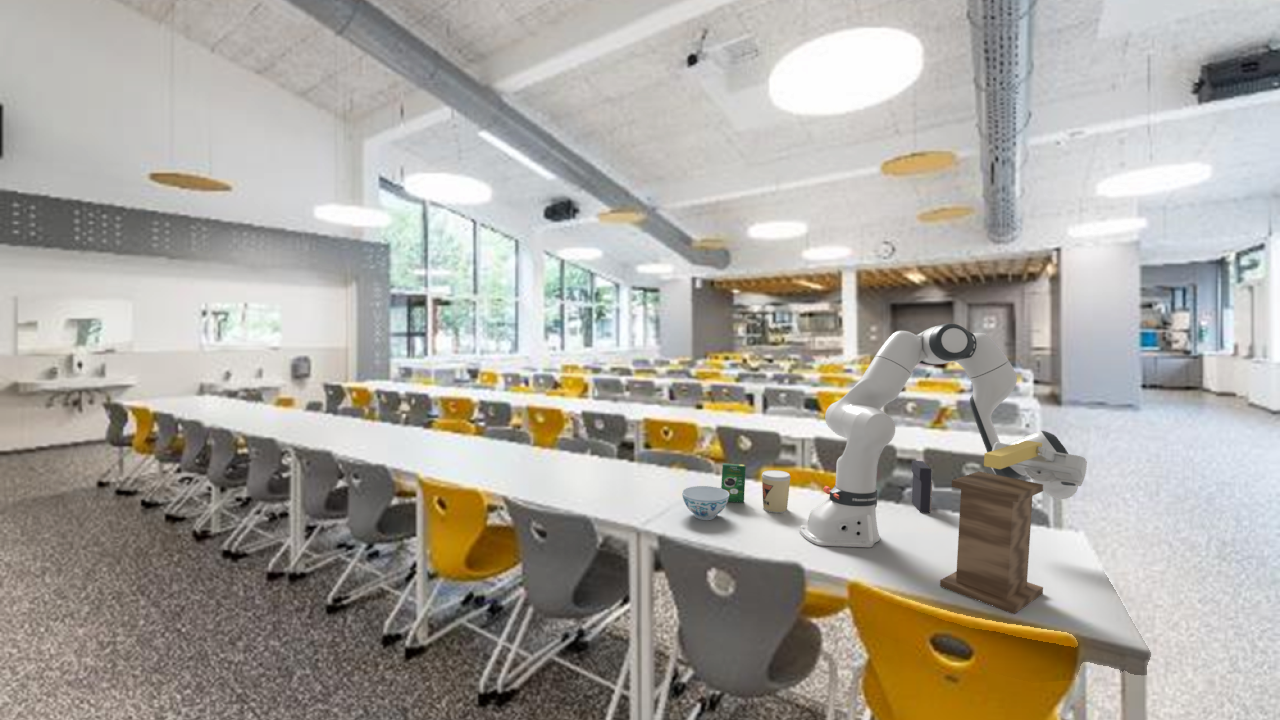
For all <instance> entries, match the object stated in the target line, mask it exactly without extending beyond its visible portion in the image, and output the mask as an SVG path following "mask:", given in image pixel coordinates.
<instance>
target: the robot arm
mask: <svg viewBox="0 0 1280 720" xmlns="http://www.w3.org/2000/svg"><path fill="white" fill-rule="evenodd" d="M951 362H956V363H957V364H959V365H960V366H961V368H962V369H964V372H965V374H966V375H967V377H968V378H969V381H970V383H971V385H972V395H971V396H970V397H969V404H970V405H969V406H970V409H971V413H972V414H973V418H974V420H975V423H976V426H977V429H978V431H979V434H980V437H981V440H982V442H983V445H984V447H985V450H986V453H987V452H991V451H994V450H997V449H1000V448H1004V447H1007V446H1010V445H1013V444H1017V443H1020V442H1023V441H1026V440H1027V441H1033V442H1040V443H1042V447H1038V446H1037V449H1036V453H1037V455H1039V456H1036V457H1034V458H1031V459H1028V460H1025V461H1022V462H1020V463H1017V464H1014V465H1011V466H1008V467H1006V468H1003V469H996V468H991V469H992V471H993V474H995V475H999V476H1004V477H1009V478H1014V479H1019V480H1020V479H1021V478H1023V477H1025V476H1028V477H1029V478H1030V479H1031V480H1032V482H1033V483H1038V484H1043V491H1042V492H1044V493H1045V494H1046V495H1047V496H1049V497H1051V498H1053V499H1058V500H1065V499H1066V500H1067V499H1070V498H1071V497H1073V496H1074V495H1076V493H1077V492H1078V489H1079V487H1081V486H1082V485H1083V482H1084V480H1085V477H1086V474H1087V464H1088V462H1087V460H1086V458H1085V457H1083V456H1081V455H1077V454H1069V452H1068V451H1067V449H1066V447H1065V446H1064V444H1062V442H1061V441H1060V440H1059V438H1058V437H1057V436H1056V434H1053V433H1051V432H1049V431H1045V430H1039V431H1036V432H1034V433H1031V434H1028V435H1026V436H1023V437H1021V438H1019V439H1015V440H1013V441H1011V442H1008V443H1003V442H1001V441H1000V438H999V436H998V434H997V431H996V428H995V426H994V423H993V421H992V415H993V412H994V411H995V410H996V409H997V407H998V406H999V405H1001V404H1002V403H1003V402H1004V401H1005V400H1006V399H1007V398H1008V397H1009V396H1010V395H1011V394H1012V392H1013V391H1014V390H1015V388H1016V386H1017V381H1018V376H1017V373H1016V371H1015V369H1014V367H1013V365H1012V364H1011V361H1010V360H1009V359H1008V357H1007V356H1006V354H1005V353H1004V352H1003V350H1002V349H1001V348H1000V346H999V345H998V344H997V343H996V341H994V340H993V338H992V337H991V336H990V335H988V334H987V333H984V332H974V333H972V332H971V331H969V330H967V329H966V328H965V327H964V326H963V325H962V326H961V325H959V324H957V323H953V322H952V323H951V322H949V323H942V324H939V325H936V326H931V327H929V328H927V329H924V330H923V331H921V332H918V333H917V334H915V333H913V332H911V331H908V330H896V331H894V332H893V333H891V335H890V336H889V337H888V338H887V339H886V340H885V342H884V343H883V344H882V346H881V347H880V348H879V350H878V351H877V352H876V354H875V355H874V358H873V359H872V360H871V362H870V364H869V365H868V367H867V368H866V370H865V372H864V373H863V375H862V377H860V379H859V380H858V381H857V382H856V383H855V385H854V386H853V387H852V388H851V389H850V390H849V391H847V393H846V394H844V396H842V397H841V398H840V399H839V400H837V401H835V402H833V403H831V404H830V405H829V406H828V407H827V409H826V411H825V414H824V415H825V416H824V421H825V423H826V426H827V427H828V428H829V429H830V430H831V431H832V432H834V434H836V435H838V436H840V437H841V438H844V439H846V443H845V444H846V445H845V448H844V451H843V452H842V455H840V456H839V457H838V458H837V460H836V467H835V468H836V469H835V470H836V472H835V473H836V474H835V485H834V487H833V488H831V487H829V486H828V485H825V486H824V487H823V489H822V491H823V492H824V493H825V494H826V495H829V498H828V499H826V500H824V502H822V503H821V504H819V505H817V506H816V507H815V508H813V509H812V510H811V511H810V513H809V515H808V519H807V523H806V524H801V525H800V527H799V533H800V534H801V536H802V537H803V538H805V539H806V540H807V541H808V542H810V543H812V544H813V545H817V546H825V547H828V546H829V547H845V548H847V547H849V548H851V547H853V548H873V547H874V545H875V543H877V542H879V541H880V539H881V537H880V533H879V529H878V522H877V504H878V490H877V476H878V464H879V460H880V457H881V454H882V452H883V450H884V448H885V447H886V446H887V445H889V444H890V443H891V442H892V440H893V439H894V437H895V434H896V424H895V421H894V419H893V418H892V417H891V416H890V415H888V414H887V413H886V412H884V411H883V410H882V408H883V407H884V406H885V405H887V404H888V403H891V402H893V401H894V400H897V398H898V397H899V396H900V393H901V392H902V391H903V389H904V387H905V385H906V384H907V382H908V380H909V378H910V377H911V375H912V373H913V372H914V370H915V368H916V367H917V366H918V365H919V363H920V364H923V365H928V366H934V365H943V364H947V363H948V364H949V363H951Z"/></svg>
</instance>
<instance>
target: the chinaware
mask: <svg viewBox="0 0 1280 720" xmlns="http://www.w3.org/2000/svg"><path fill="white" fill-rule="evenodd" d="M681 495H682V499H683V502H684V505H685V506H686V508H687V509H688V510H689V511H690V512H691V513H693V514H694V517H695V518H696V519H698V520H703V521H704V520H705V521H709V520H715V518H716V517H717V515H718V514H720V513H721V512H723V510H724V509H725V507H726V506H727V504H728V503H729V502H728V499H729V492H728V491H726V490H724V489H721V487H717V486H712V485H711V486H709V485H697V486H696V485H695V486H689V487H686V488H684V489H683V490H682V491H681Z"/></svg>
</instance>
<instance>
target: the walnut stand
mask: <svg viewBox="0 0 1280 720" xmlns="http://www.w3.org/2000/svg"><path fill="white" fill-rule="evenodd" d="M951 487H952V488H955V489H958V490H960V500H959V501H960V502H959V503H960V504H959V519H958V520H959V522H958V536H957V538H958V539H957V554H956V555H957V557H956V571H954V572H952V573H950V574H948V575H947V576H945V577H942V578H941V579H940V581H939V582H940V583H939V586H941V588H943V587H944V589H946V588H947V589H946V590H948V589H949V591H951V590H952V591H951V592H954V593H956V592H957V594H959V593H960V595H962V596H964V595H965V597H968V598H969V599H972V598H973V600H975V599H976V601H978V600H980V601H982V602H981V603H983V602H984V603H983V604H986V603H987V604H986V605H989V604H990V605H989V606H991V605H993V606H992V607H994V606H995V607H994V608H996V609H999V608H1000V610H1002V611H1004V612H1007V611H1008V613H1010V614H1013V615H1015V614H1017V613H1018V612H1019V611H1021V610H1022V609H1023V608H1025V607H1026V606H1028V605H1029V604H1031V603H1032V602H1033V601H1034V600H1036V599H1037V598H1039V597H1041V596H1042V595H1043V593H1044V587H1043V586H1040V585H1038V584H1035V583H1032V582H1028V575H1029V574H1028V573H1029V571H1028V570H1029V557H1030V555H1029V554H1030V544H1031V543H1030V541H1031V540H1030V539H1031V526H1032V525H1031V524H1032V510H1033V509H1032V508H1033V496H1035V495H1037V494H1040V493H1042V492H1044V491H1043V484H1038V483H1035V482H1034V481H1029V480H1022V479H1020V478H1019V479H1014V478H1009V477H1004V476H999V475H996V474H995V473H990V472H985V471H981V470H979V471H975V472H972V473H969V474H966V475H964V476H960V477H957V478H954V479H952V480H951ZM980 601H979V602H980Z"/></svg>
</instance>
